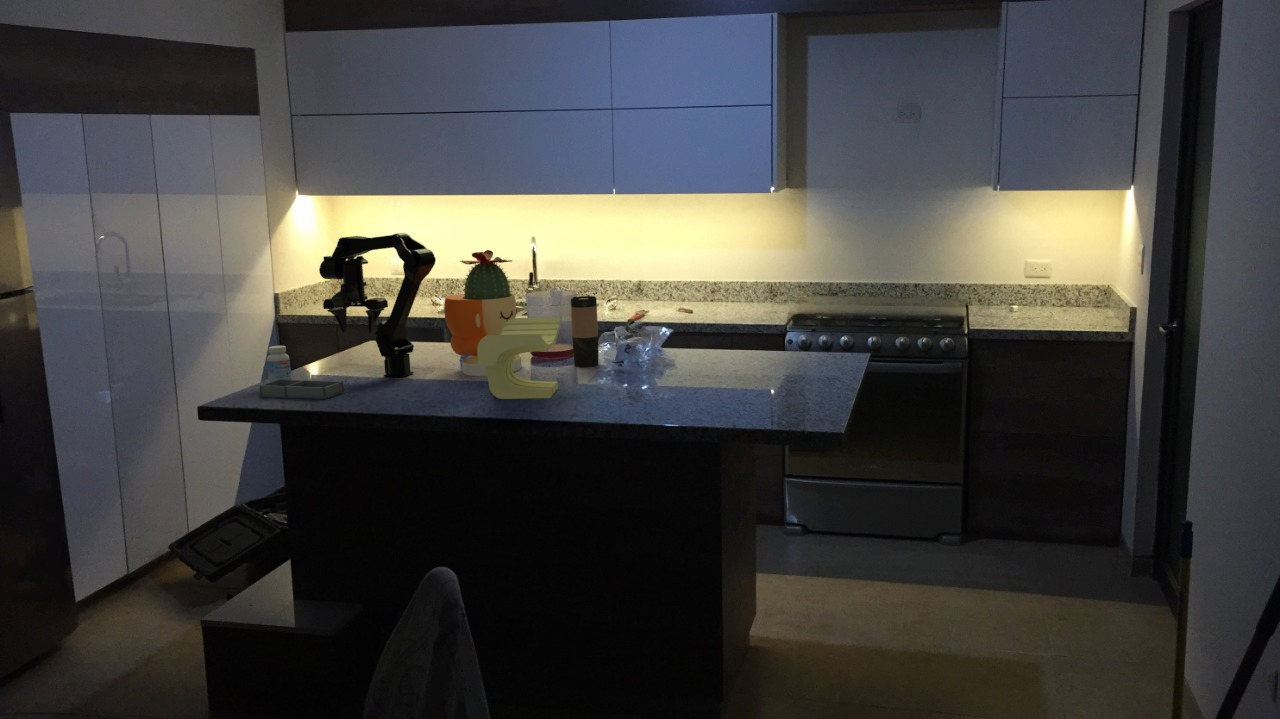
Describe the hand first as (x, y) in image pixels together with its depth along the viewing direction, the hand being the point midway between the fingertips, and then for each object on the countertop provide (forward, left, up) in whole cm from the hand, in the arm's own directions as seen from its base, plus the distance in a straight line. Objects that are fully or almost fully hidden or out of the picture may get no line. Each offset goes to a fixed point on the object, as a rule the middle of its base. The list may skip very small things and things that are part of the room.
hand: (357, 332), depth 323 cm
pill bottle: (+12, +22, -12) cm, 28 cm away
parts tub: (-2, +31, -12) cm, 33 cm away
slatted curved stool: (-62, +19, -12) cm, 66 cm away
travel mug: (-63, -22, -12) cm, 68 cm away
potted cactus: (-35, -11, -12) cm, 39 cm away
